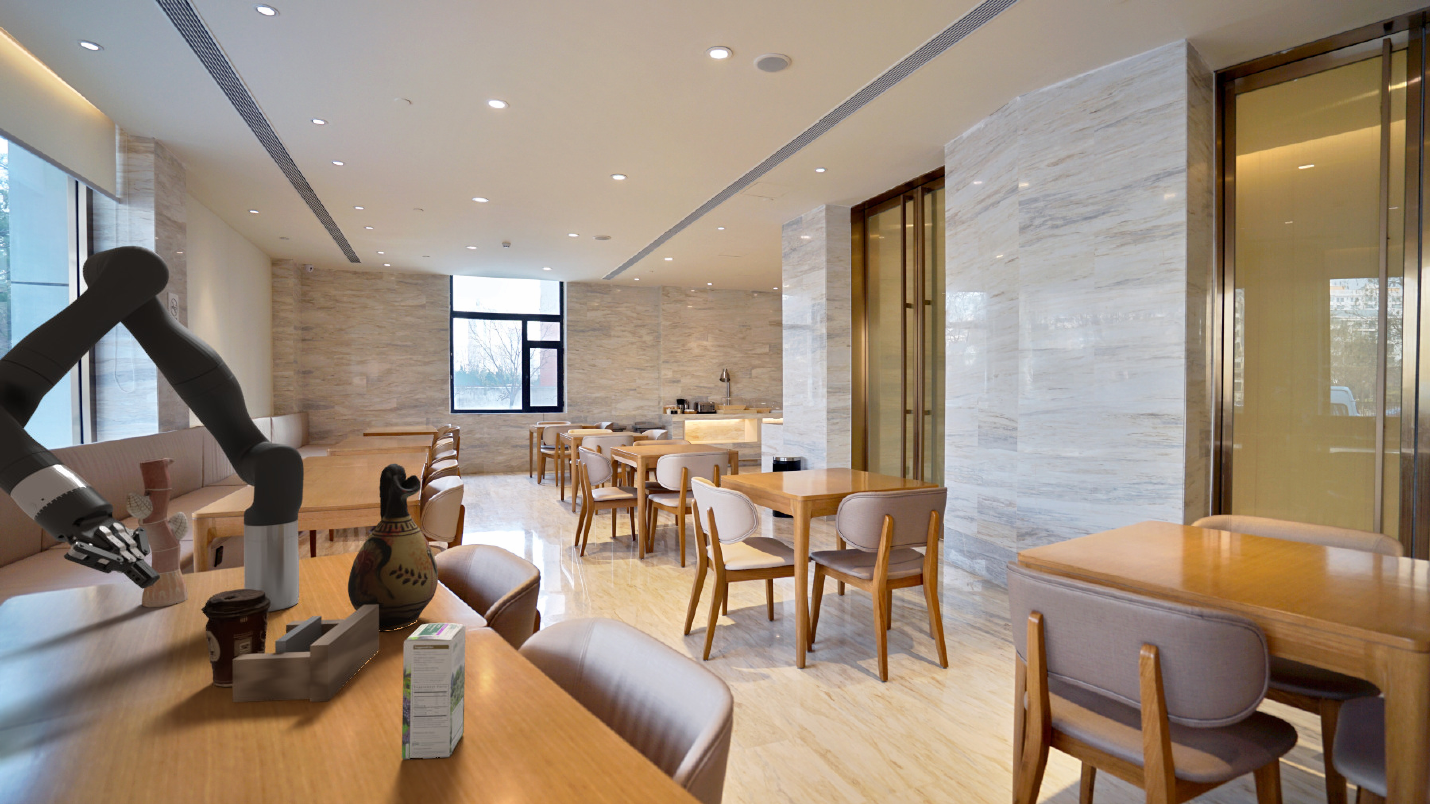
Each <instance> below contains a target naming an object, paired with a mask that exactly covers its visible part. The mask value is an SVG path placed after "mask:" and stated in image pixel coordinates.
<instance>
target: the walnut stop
mask: <svg viewBox="0 0 1430 804" xmlns="http://www.w3.org/2000/svg"><path fill="white" fill-rule="evenodd" d="M306 620H307V619H305V620H291V621H290V622H288V623H287V624H286V625H285V626H286V627H285V632H286V633H285V634H287V633H288V632H290V631H291V630H293V629H294V628H296V627H297V626H299V625H300V624H302V623H303V622H305V621H306ZM378 650H379V651H380V631H379V604H376V605H363V606H362V607H360V608H359V609H358V610H355V611H354V612H353V613H351V614H349V615H348V616H347V617H345V618H343V619H340V618H337V619H322V637H321V638H319V639H318V640H317V641H315V642H314V643H313V644H312V645H310V652H289V653H275V652H270V653H268V652H267V653H266V652H265V653H261V654H241V655H239V656H238V657H236V658H235V659H233V686H232V703H239V702H240V703H241V702H262V701H263V702H264V701H267V702H269V701H289V700H292V701H293V700H308V699H309V700H310V701H309V702H310V703H314V702H315V703H317V702H329V701H330V700H331V699H332V698H333V697H334V696H335V695H337V694H338V692H339V691H340V690H341V689H342V688H344V686H345V685H346V684H347V683H348V682H349V681H350V680H351V679H352V678H353V677H354V676H355V675H356V674H357V673H358V670H359V669H361V667H362V666H363V665H365V663H366V662H367V661H368V660H370V658H372V657H373V656H374V654H376V653H377V651H378ZM377 654H378V653H377ZM377 654H376V655H377ZM374 657H375V656H374ZM374 657H373V658H374ZM373 658H372V659H373ZM370 661H371V660H370ZM365 666H366V665H365ZM361 670H362V669H361ZM355 673H356V674H355ZM354 674H355V675H354ZM351 677H352V678H351ZM350 678H351V679H350ZM347 681H348V682H347ZM346 682H347V683H346ZM343 685H344V686H343ZM340 688H341V689H340ZM339 689H340V690H339Z"/></svg>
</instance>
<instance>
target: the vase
mask: <svg viewBox="0 0 1430 804" xmlns="http://www.w3.org/2000/svg"><path fill="white" fill-rule="evenodd" d="M174 462H175V460H174V459H173V458H172V457H162V458H159V459H147V460H142V461H140V462H139V469H140V472H141V476H142V482H143V488H144V492H143V494H142V493H139V492H136V491H134V492H130V493H127V495H126V498H125V509H126V512H128V513H129V514H130V515H131V516H132V517H133V518H136V519H138V521H137V523H138V527H143V528H144V529H145V530H146V533H147V538H148V543H149V548H150V552H151V565H150V566H151V567H152V568H153V569H154V570H155V571H156V572H157V573H158V574H159V575H160V578H159V579H158V580H157V581H156V582H155V583H154V584H153V585H152V586H149V587H147V588H144V589H143V591H142V596H141V606H142V607H146V608H162V607H169V606H173V605H177V604H180V603H183V602H185V601H186V600H188V598H189V591H188V588H187V584H186V583H187V582H186V581H185V579H184V578H185V577H184V576H183V574H182V573H183V572H182V570H181V551H182V550H181V548H182V547H181V546H182V545H181V542H180V541H181V540H183V538H185V536H186V534H187V533H188V530H189V520H188V518H187V515H185V513H184V512H183V511H178V512H175V513H174V514H173V515H172V516H171V517H170V518H169V519H168V515H167V514H168V509H169V506H170V505H169V503H170V499H171V497H172V496H171V495H172V491H173V487H172V481H171V476H170V473H169V472H170V471H169V469H168V468H169V466H170V465H172V464H173V463H174ZM176 603H177V604H176Z"/></svg>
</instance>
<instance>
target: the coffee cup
mask: <svg viewBox="0 0 1430 804" xmlns="http://www.w3.org/2000/svg"><path fill="white" fill-rule="evenodd" d="M270 606H271V601H270V600H269V598H267V597H266V596H265V592H264V591H262V590H253V589H244V588H239V589H232V590H227V591H225V590H224V591H222V592H218V593H215V594H213V595H212V596H210V597H209V599H207V600H206V602H205V605H204V606H203V607H202V608H201V609H200V610H201V611H202V613H203V615H205V617H206V618H207V622H206V624H205V634H206V642H207V650H208V656H209V663H210V664H211V669H212V682H213V685H216V686H218V687H225V688H228V687H233V659H235V658H236V657H238V656H239V655H241V654H261V653H266V641H267V631H268V622H269V621H268V619H269V611H268V608H269V607H270Z"/></svg>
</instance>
